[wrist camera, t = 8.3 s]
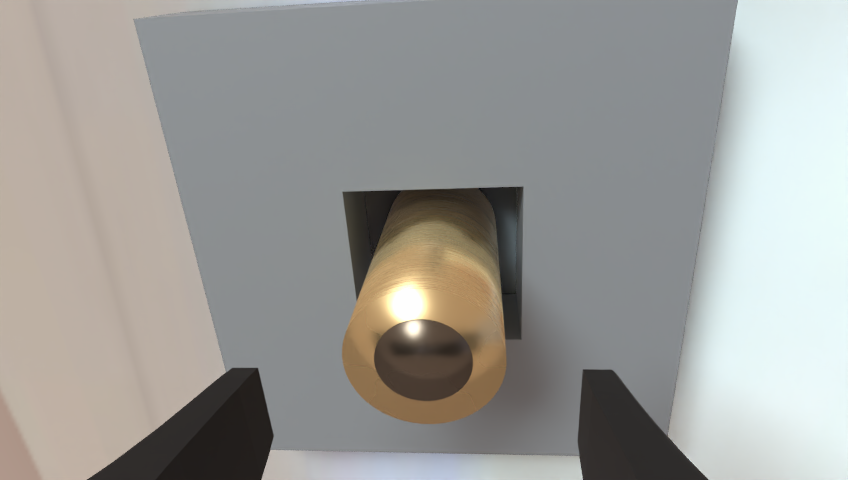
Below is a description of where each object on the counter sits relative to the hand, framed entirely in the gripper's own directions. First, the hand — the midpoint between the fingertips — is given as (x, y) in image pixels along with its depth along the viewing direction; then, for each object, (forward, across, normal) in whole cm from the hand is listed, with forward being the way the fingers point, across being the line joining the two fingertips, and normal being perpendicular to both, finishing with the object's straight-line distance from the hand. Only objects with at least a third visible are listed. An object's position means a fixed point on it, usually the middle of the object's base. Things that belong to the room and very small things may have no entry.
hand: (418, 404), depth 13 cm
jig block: (+9, 0, 0) cm, 9 cm away
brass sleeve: (+9, 0, 0) cm, 9 cm away
